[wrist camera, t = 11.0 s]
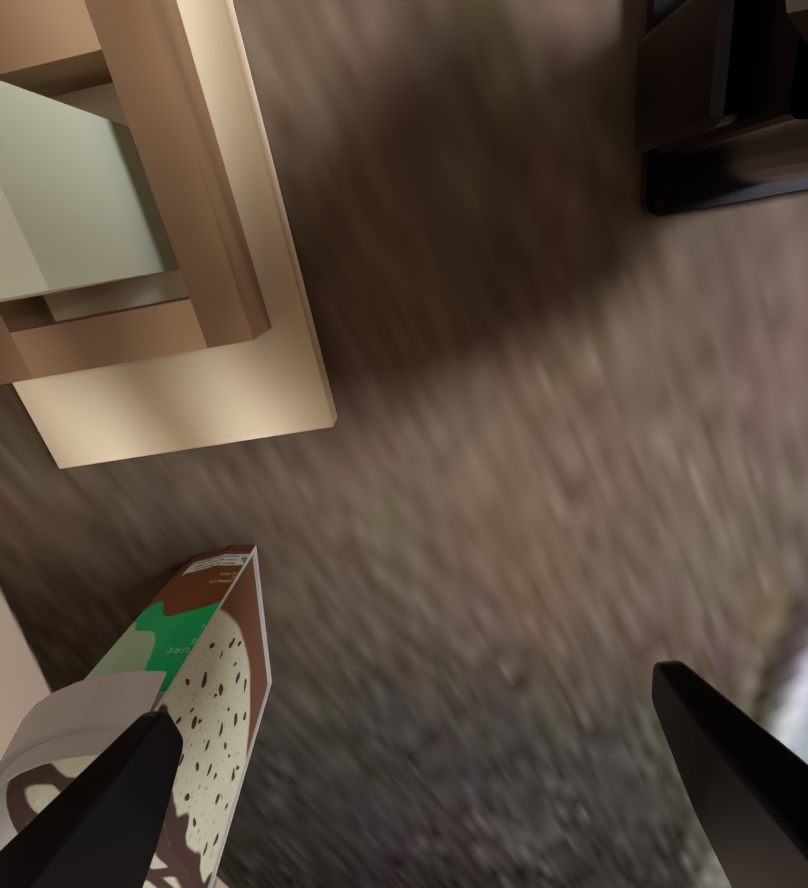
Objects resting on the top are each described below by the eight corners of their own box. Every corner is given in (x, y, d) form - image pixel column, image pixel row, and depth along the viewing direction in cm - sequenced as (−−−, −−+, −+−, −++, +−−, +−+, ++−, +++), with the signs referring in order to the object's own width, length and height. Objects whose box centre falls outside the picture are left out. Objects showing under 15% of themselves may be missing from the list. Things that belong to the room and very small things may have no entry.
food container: (117, 510, 21) (-116, 728, 12) (253, 517, 21) (124, 741, 12) (165, 694, 26) (29, 944, 17) (273, 700, 26) (196, 953, 17)
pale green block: (130, 127, 14) (-61, 58, 8) (180, 268, 15) (49, 289, 10) (9, 155, 14) (-251, 106, 9) (70, 290, 16) (-114, 321, 10)
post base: (180, -208, 11) (106, -344, 9) (337, 416, 18) (324, 449, 16) (-214, -90, 13) (-388, -178, 10) (76, 457, 20) (21, 494, 17)
